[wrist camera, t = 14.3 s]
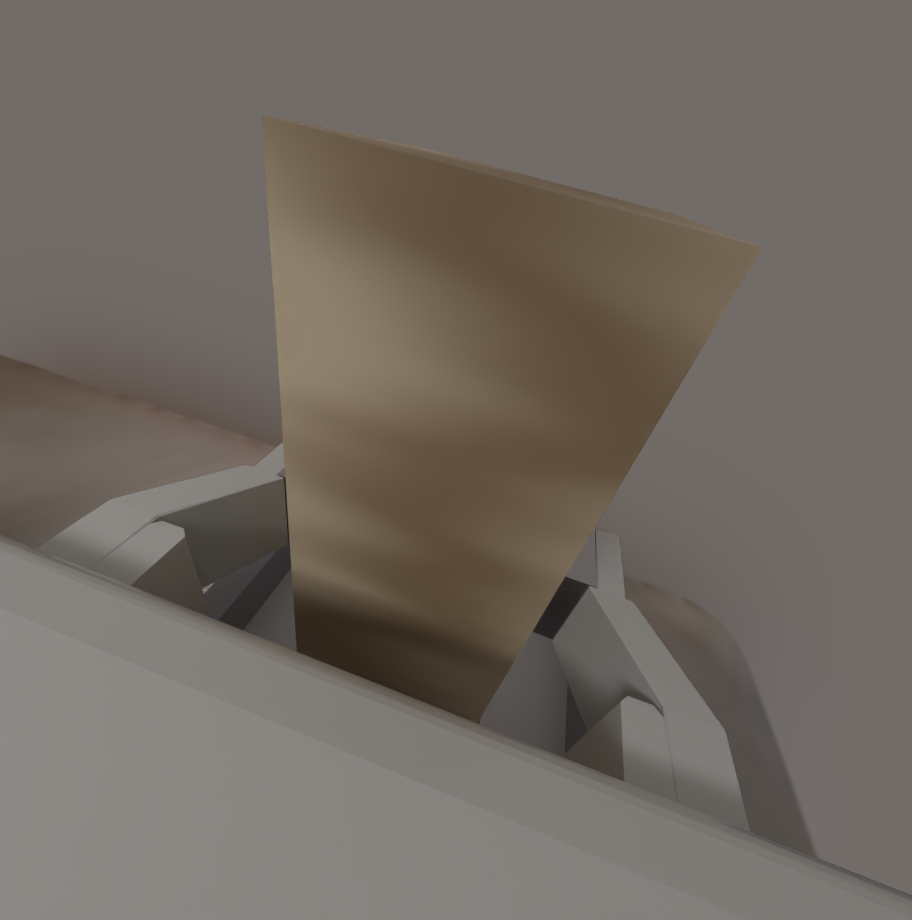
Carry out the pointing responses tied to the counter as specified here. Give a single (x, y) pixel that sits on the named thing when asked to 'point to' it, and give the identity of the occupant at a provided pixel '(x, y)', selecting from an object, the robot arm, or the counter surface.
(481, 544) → the peg
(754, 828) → the counter surface
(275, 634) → the box
